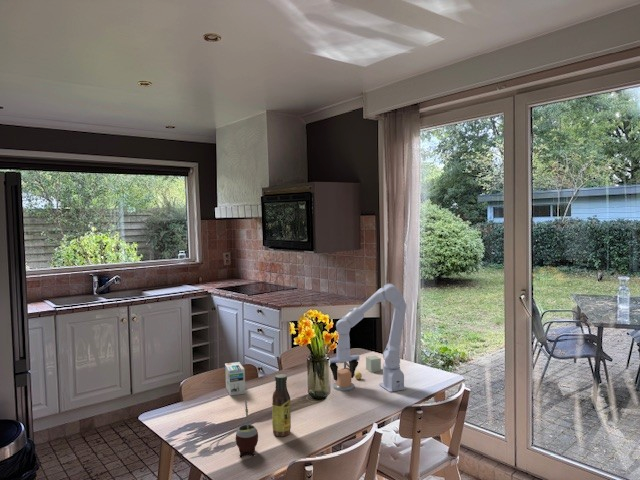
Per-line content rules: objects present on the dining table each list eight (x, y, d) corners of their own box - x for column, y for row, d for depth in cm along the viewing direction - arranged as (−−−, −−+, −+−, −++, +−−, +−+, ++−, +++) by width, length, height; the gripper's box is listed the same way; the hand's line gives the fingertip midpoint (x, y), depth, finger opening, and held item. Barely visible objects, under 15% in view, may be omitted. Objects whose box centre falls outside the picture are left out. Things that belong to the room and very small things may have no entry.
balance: (354, 374, 216) (354, 362, 216) (347, 376, 214) (346, 364, 214) (343, 366, 228) (343, 355, 228) (335, 367, 226) (335, 356, 226)
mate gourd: (247, 461, 142) (245, 413, 141) (229, 453, 147) (228, 406, 146) (264, 451, 148) (263, 404, 147) (246, 443, 152) (245, 399, 152)
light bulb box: (245, 393, 195) (245, 368, 195) (229, 396, 193) (229, 370, 192) (240, 385, 205) (239, 361, 205) (225, 387, 203) (224, 363, 202)
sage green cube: (380, 370, 221) (380, 358, 220) (371, 372, 219) (371, 359, 219) (375, 367, 226) (375, 355, 225) (366, 369, 224) (365, 356, 223)
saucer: (357, 388, 199) (357, 387, 199) (338, 392, 195) (338, 390, 195) (348, 381, 207) (348, 380, 207) (330, 385, 204) (330, 383, 204)
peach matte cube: (351, 386, 200) (351, 372, 200) (340, 387, 198) (340, 374, 198) (346, 382, 205) (346, 368, 204) (335, 383, 203) (335, 370, 202)
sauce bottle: (288, 438, 156) (287, 380, 155) (270, 436, 157) (269, 378, 156) (293, 429, 162) (292, 373, 161) (275, 427, 164) (274, 372, 162)
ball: (363, 379, 210) (362, 372, 209) (356, 380, 208) (356, 373, 208) (359, 377, 212) (359, 370, 212) (353, 378, 211) (353, 371, 211)
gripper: (354, 343, 207) (354, 373, 207) (324, 347, 201) (324, 377, 202) (361, 347, 200) (361, 378, 201) (330, 351, 195) (330, 383, 195)
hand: (343, 378), depth 201 cm, fingers open, 7 cm apart
